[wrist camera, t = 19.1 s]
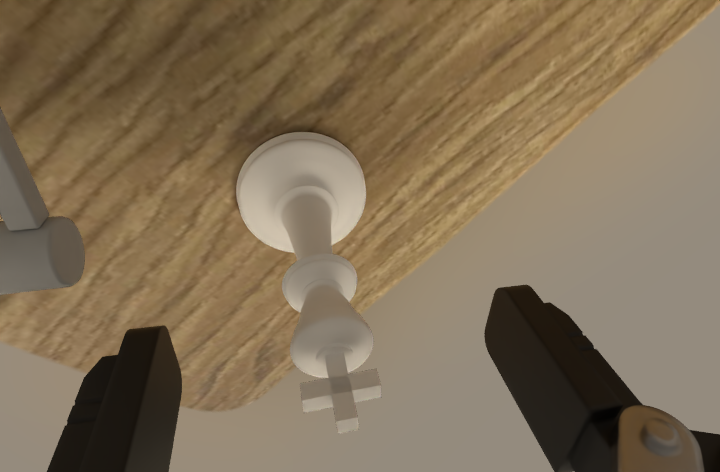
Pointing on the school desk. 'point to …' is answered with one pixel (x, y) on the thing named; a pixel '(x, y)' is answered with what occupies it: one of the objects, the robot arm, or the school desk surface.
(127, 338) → the robot arm
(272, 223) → the chess piece
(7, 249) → the drawer
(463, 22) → the school desk surface
